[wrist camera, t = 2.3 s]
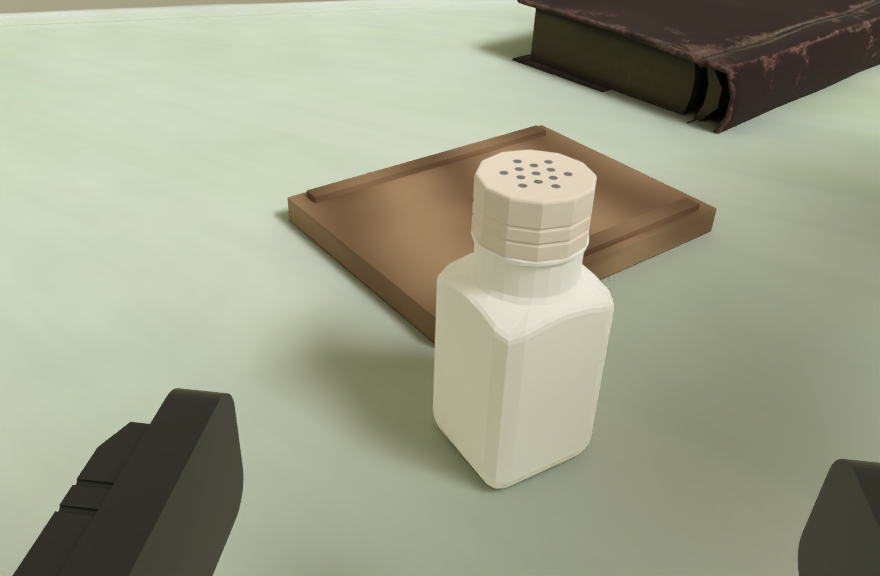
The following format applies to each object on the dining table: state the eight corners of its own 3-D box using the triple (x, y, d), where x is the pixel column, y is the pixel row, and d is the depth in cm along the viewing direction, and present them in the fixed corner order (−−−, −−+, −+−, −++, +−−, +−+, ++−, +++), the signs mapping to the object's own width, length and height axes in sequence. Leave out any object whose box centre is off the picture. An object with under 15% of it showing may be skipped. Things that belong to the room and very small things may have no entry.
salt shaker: (595, 455, 26) (646, 187, 20) (492, 503, 24) (517, 224, 19) (522, 383, 28) (550, 133, 23) (425, 422, 27) (431, 159, 21)
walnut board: (539, 145, 46) (542, 120, 45) (710, 231, 38) (717, 202, 37) (289, 220, 38) (287, 191, 37) (441, 349, 30) (443, 316, 29)
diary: (900, 68, 62) (925, 1, 59) (721, 148, 48) (742, 67, 46) (696, 11, 74) (708, -47, 71) (503, 63, 60) (509, -6, 57)
